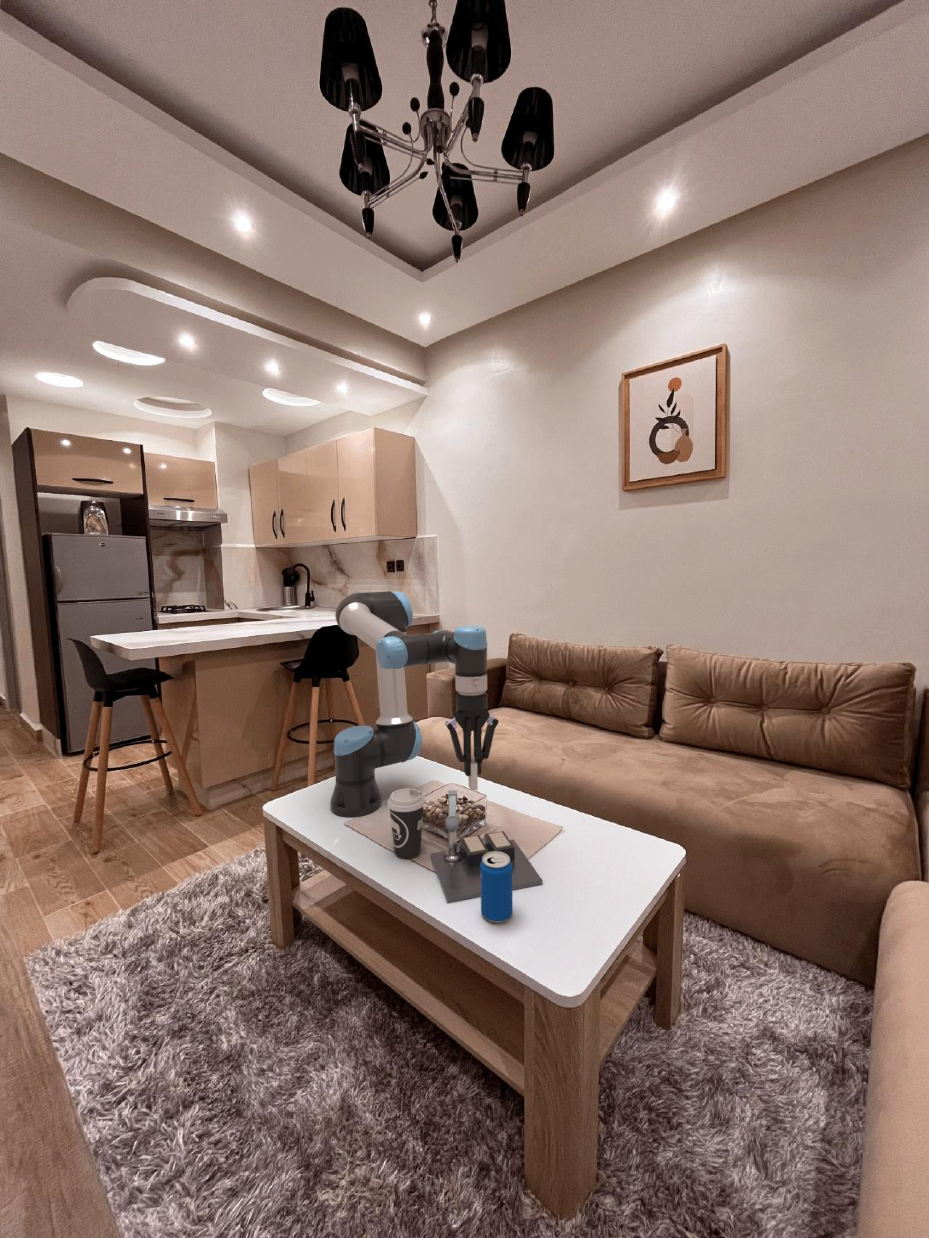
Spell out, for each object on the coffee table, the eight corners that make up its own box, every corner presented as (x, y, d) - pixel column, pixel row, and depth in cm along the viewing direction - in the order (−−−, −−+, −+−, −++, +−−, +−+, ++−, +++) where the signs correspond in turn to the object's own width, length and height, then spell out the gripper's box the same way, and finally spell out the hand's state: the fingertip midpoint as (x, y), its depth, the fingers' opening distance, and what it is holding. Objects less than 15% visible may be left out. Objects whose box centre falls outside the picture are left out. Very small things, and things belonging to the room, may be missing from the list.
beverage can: (479, 905, 106) (478, 851, 105) (509, 902, 106) (509, 849, 105) (483, 926, 99) (482, 869, 98) (515, 924, 100) (514, 867, 99)
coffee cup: (420, 864, 121) (418, 805, 119) (383, 860, 122) (381, 802, 121) (431, 843, 130) (429, 788, 128) (396, 840, 132) (394, 785, 130)
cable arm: (445, 832, 120) (445, 822, 120) (447, 798, 137) (446, 790, 137) (458, 832, 120) (458, 822, 120) (458, 798, 138) (458, 790, 137)
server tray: (430, 857, 124) (429, 825, 123) (513, 843, 129) (513, 812, 129) (447, 903, 106) (446, 866, 106) (542, 884, 112) (542, 849, 111)
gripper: (448, 697, 113) (450, 798, 115) (502, 693, 116) (503, 790, 118) (441, 690, 120) (443, 785, 122) (492, 686, 123) (493, 778, 126)
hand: (473, 787), depth 120 cm, fingers closed
